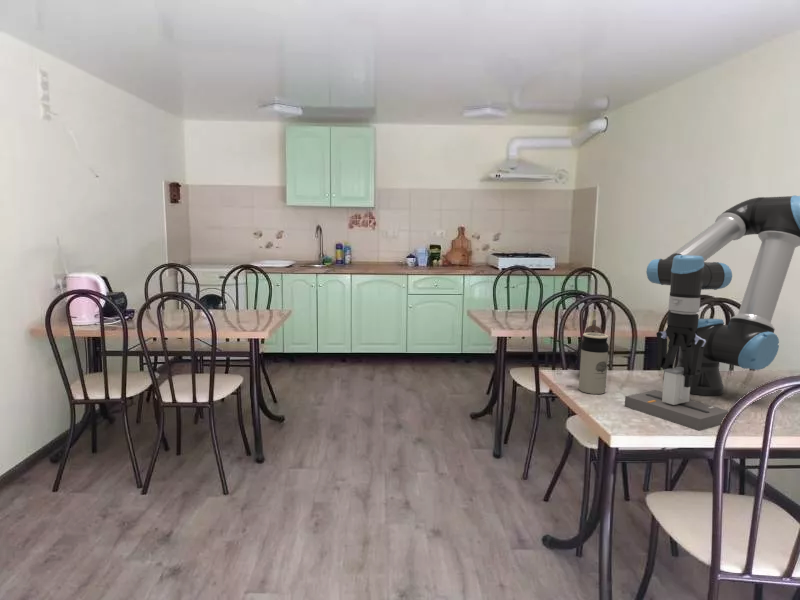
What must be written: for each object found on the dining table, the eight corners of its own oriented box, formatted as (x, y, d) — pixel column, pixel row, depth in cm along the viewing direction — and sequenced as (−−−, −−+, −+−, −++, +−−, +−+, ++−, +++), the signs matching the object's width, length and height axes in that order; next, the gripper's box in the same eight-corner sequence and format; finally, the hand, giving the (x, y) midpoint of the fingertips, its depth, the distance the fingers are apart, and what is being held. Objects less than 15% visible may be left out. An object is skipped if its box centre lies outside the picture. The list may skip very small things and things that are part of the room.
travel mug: (574, 387, 177) (578, 332, 175) (598, 387, 178) (602, 332, 176) (585, 394, 169) (589, 337, 167) (609, 394, 170) (614, 337, 168)
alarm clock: (579, 371, 199) (583, 316, 196) (600, 373, 196) (604, 317, 193) (576, 381, 185) (580, 322, 183) (599, 383, 182) (604, 324, 180)
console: (624, 406, 159) (625, 395, 158) (654, 399, 166) (655, 389, 166) (699, 430, 140) (700, 418, 140) (729, 422, 147) (730, 410, 147)
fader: (661, 401, 153) (664, 369, 151) (677, 397, 156) (679, 366, 155) (673, 405, 149) (676, 372, 148) (689, 401, 153) (692, 369, 152)
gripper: (647, 308, 155) (640, 390, 158) (706, 317, 141) (697, 406, 144) (663, 307, 159) (656, 386, 162) (722, 315, 145) (713, 402, 148)
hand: (675, 395), depth 153 cm, fingers closed on fader, 4 cm apart
